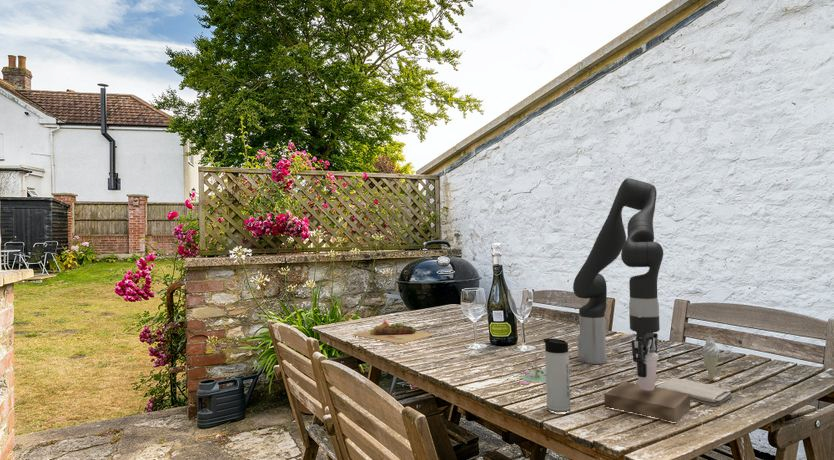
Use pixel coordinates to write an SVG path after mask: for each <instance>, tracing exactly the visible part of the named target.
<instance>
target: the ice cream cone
mask: <svg viewBox="0 0 834 460" xmlns="http://www.w3.org/2000/svg"><path fill="white" fill-rule="evenodd" d="M701 350H702V351H701V356H702V359H703V361H704V365H705V368H706V371H707V373H708V376H709V380H710V381H711V380H713V378H714V376H715V372H716V368H717V363H718V361H719V358H720V349H719V347H718V346H716V341H715V340H714V339H713V337H712V335H711V334H708V337H707V339H706V341H705V344H704V345H703V347H702V348H701Z"/></svg>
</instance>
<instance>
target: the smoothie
mask: <svg viewBox="0 0 834 460" xmlns="http://www.w3.org/2000/svg"><path fill="white" fill-rule="evenodd" d="M643 352H644V351H643ZM646 357H647V359H646V369H647V376H646V377H645V378H644V377H639V376H638V375H637V379H638V384H639V386H640V389H642V390H648V391H651V390H654V388H655V387H656V377H657V376H656V375H657V369H658V367H657V366H658V359H659V357H660V356H659V354H658V353H655V352H653V353H651V352H649V355H648V356H646ZM639 358H640V355H639ZM635 368H636V369H637V363H636V362H635Z"/></svg>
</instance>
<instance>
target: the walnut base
mask: <svg viewBox="0 0 834 460" xmlns="http://www.w3.org/2000/svg"><path fill="white" fill-rule="evenodd" d="M605 407H609V408H614V409H619V410H624V411H627V412H633V413H637V414H642V415H646V416H651V417H655V418H659V419H663V420H667V421H672V422H677V421H678V420H679V419H680V418H681V417H682V416H683V415H684V414H685V413H686V412H687V411H688V410H689V409H690V408H692V407H691V400H690V394H688V393H682V392H677V391H671V390H666V389H661V388H654V390H651V391H648V390H642V389H640V386H639V383H638V384H637V383H633V382H627V381H622V382H621V383H619V384H618V385H616V386H614V387H613V388H611V389H610V390H607V391H606V392H605V393H604V408H605ZM689 411H690V410H689ZM686 414H687V413H686ZM686 414H685V415H686ZM685 415H684V416H685ZM684 416H683V417H684ZM683 417H682V418H683ZM682 418H681V419H682ZM681 419H680V420H681ZM680 420H679V421H680ZM679 421H678V422H679ZM678 422H677V423H678Z"/></svg>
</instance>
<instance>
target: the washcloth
mask: <svg viewBox="0 0 834 460" xmlns="http://www.w3.org/2000/svg"><path fill="white" fill-rule="evenodd" d="M655 388H661V389H666V390H671V391H677V392H682V393H688V394H690V401H691V400H693V401H692V402H695V401H697V402H696V403H699V402H701V404H703V405H704V404H705V405H708V406H712V407H717V406H719V405H722V404H723V403H725V402H726V401H729V400H731V398H732V392H730V391H728V389H726V388H725V389H724V388H720V387H717V386H714V385H712V384H711V383H701V382H697V381H693V380H687V379H681V378H677V377H673V378H669V379H667V380H666V381H665V382H663V383H661V384H658V385H655Z"/></svg>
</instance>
